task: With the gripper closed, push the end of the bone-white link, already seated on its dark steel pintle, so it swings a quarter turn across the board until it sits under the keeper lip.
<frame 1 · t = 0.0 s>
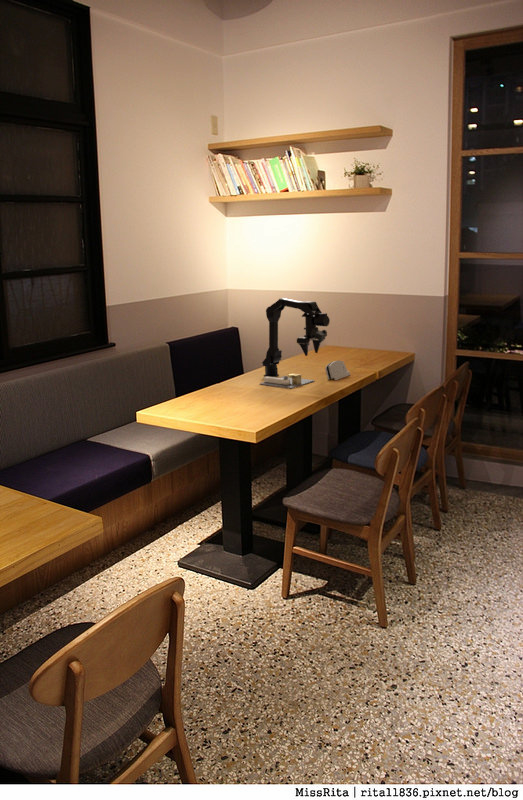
hand: (311, 354, 370), 15 cm above the table, fingers open, 9 cm apart
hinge: (337, 377, 381), on the table
link: (277, 378, 367), point 3 cm above the table, hinge at 0.0°
board: (287, 382, 371), on the table
keeper: (296, 384, 366), resting on board
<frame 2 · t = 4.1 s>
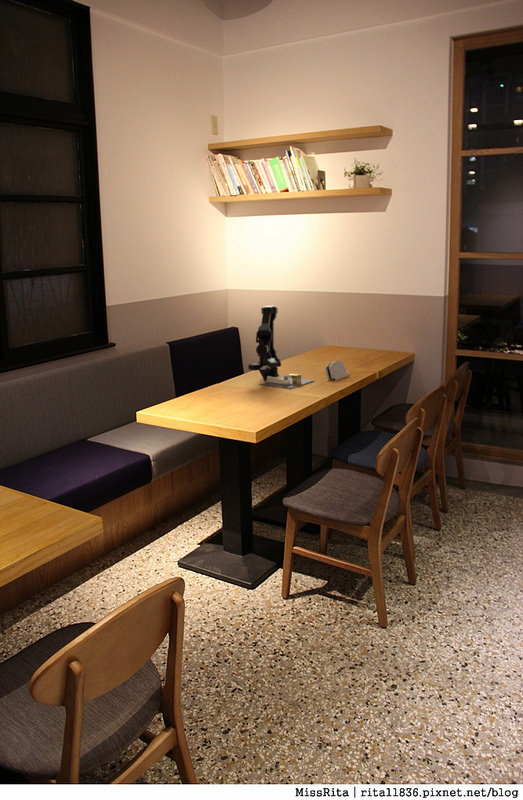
hand: (265, 381, 371), 1 cm above the table, fingers closed
link: (277, 378, 368), point 3 cm above the table, hinge at -2.8°, touching gripper
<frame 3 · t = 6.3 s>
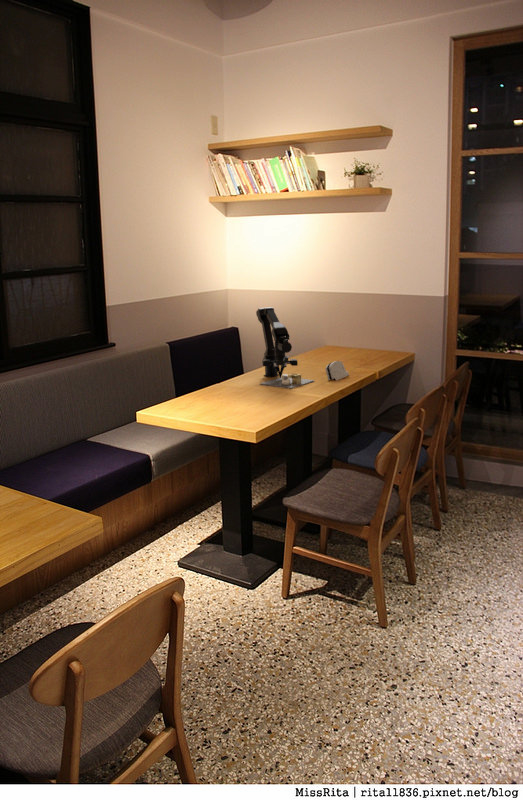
hand: (280, 378, 376), 2 cm above the table, fingers closed
link: (285, 377, 369), point 3 cm above the table, hinge at -49.3°, touching gripper
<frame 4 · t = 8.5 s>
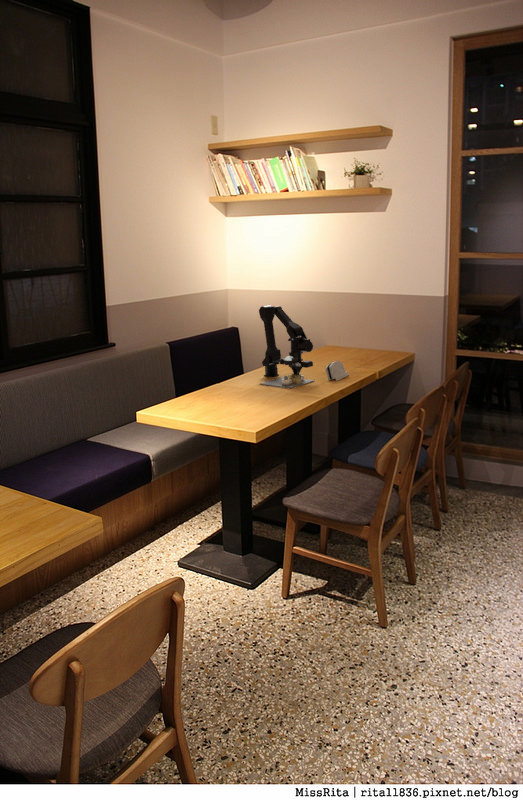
hand: (296, 378, 375), 1 cm above the table, fingers closed
link: (292, 378, 368), point 3 cm above the table, hinge at -90.7°, touching gripper
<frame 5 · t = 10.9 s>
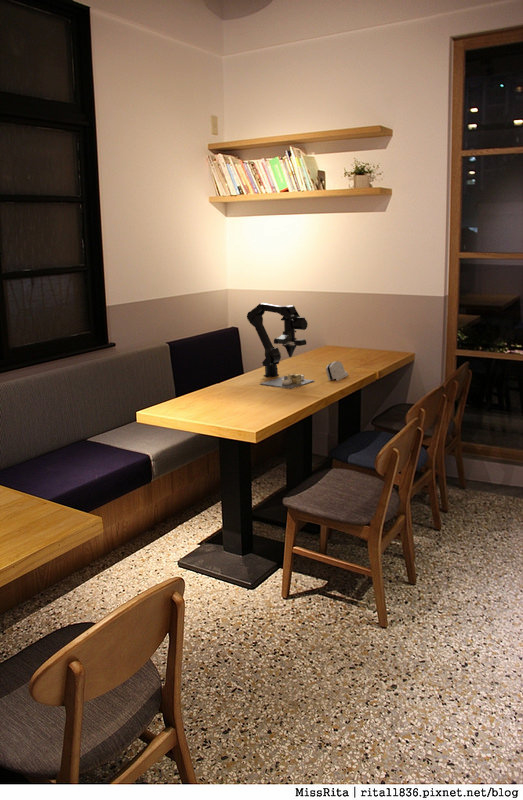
hand: (290, 357, 379), 12 cm above the table, fingers closed
link: (292, 378, 368), point 3 cm above the table, hinge at -90.6°
at the end: link at -91° (first picture: +0°); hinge moved 2.0 cm from its start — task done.
